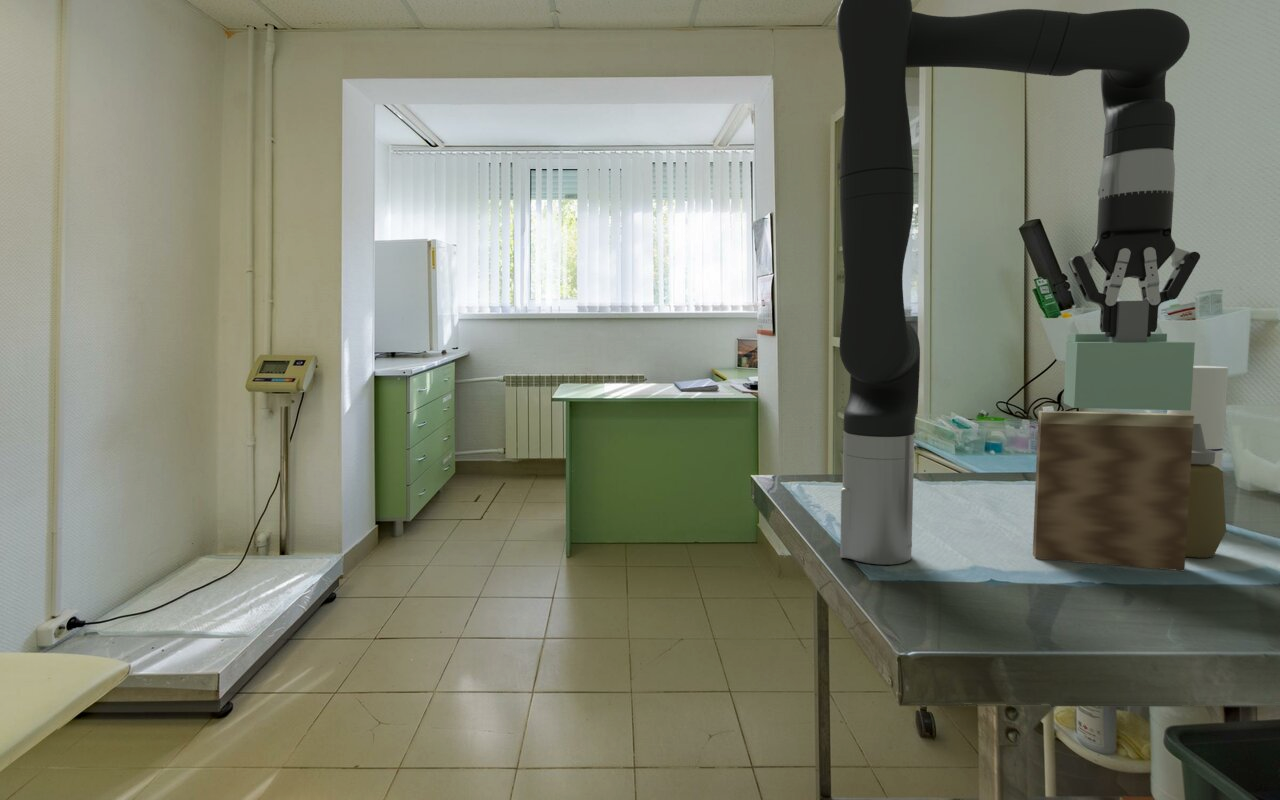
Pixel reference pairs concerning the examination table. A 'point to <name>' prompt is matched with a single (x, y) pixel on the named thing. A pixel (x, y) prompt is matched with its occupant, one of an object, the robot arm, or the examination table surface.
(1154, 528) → the wall board
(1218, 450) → the cylindrical container
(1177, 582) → the examination table surface
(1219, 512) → the squeeze bottle
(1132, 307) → the green box
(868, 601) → the examination table surface
